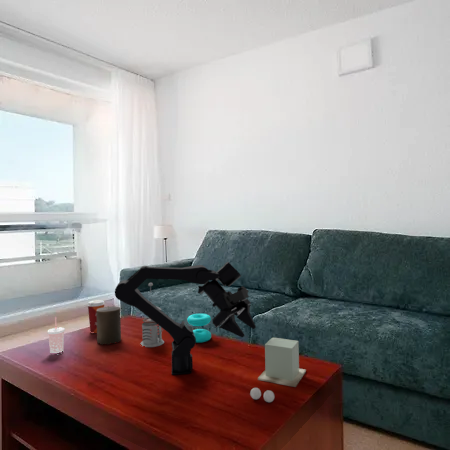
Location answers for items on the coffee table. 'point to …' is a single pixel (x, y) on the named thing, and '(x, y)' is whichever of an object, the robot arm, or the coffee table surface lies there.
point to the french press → (151, 332)
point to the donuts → (200, 320)
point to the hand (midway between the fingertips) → (249, 332)
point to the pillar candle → (108, 325)
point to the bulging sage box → (282, 358)
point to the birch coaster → (283, 381)
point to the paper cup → (94, 313)
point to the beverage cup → (56, 338)
